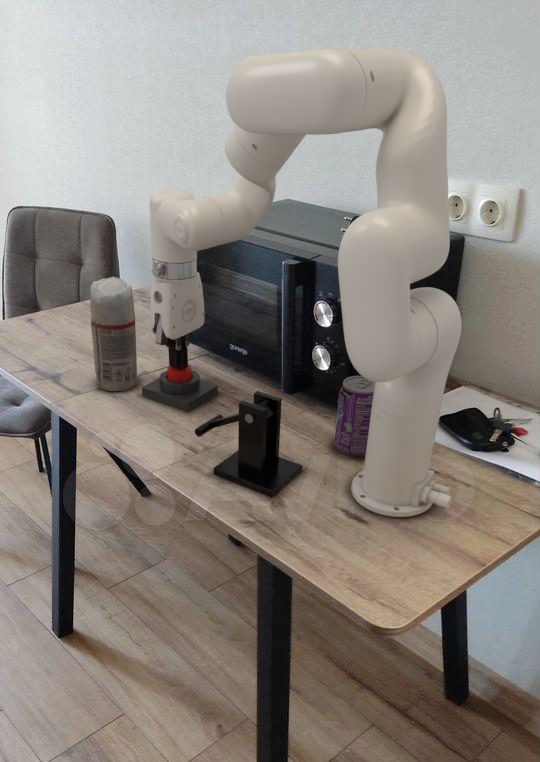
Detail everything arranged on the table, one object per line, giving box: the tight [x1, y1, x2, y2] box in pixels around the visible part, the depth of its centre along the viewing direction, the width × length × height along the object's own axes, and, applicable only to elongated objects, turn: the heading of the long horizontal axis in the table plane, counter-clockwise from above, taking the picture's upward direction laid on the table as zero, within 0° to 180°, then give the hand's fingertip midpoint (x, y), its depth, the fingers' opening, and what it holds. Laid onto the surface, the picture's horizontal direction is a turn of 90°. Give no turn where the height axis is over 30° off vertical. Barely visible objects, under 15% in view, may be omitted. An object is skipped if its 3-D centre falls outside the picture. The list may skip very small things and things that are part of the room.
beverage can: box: [333, 375, 375, 457], centre depth 116 cm, size 7×7×12 cm
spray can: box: [89, 275, 138, 392], centre depth 131 cm, size 8×8×20 cm
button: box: [166, 364, 192, 382], centre depth 131 cm, size 4×4×2 cm
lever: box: [194, 400, 274, 438], centre depth 109 cm, size 13×6×2 cm, turn 57°
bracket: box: [213, 390, 303, 498], centre depth 108 cm, size 11×9×13 cm
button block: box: [141, 369, 219, 413], centre depth 132 cm, size 11×9×4 cm
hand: (178, 366), depth 130 cm, fingers closed
